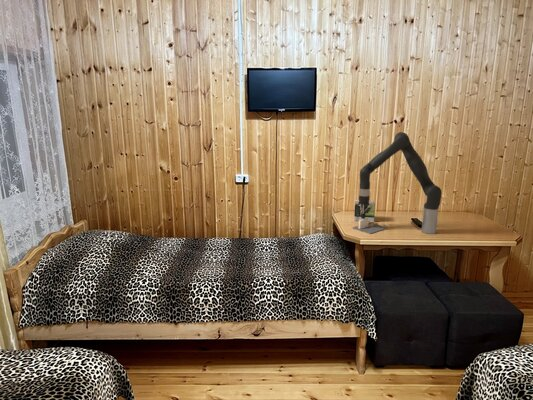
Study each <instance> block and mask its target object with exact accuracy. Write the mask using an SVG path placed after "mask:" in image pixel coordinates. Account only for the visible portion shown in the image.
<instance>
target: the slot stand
mask: <svg viewBox="0 0 533 400" xmlns="http://www.w3.org/2000/svg"><path fill="white" fill-rule="evenodd" d="M368 225H370V226H371V227H372V226H376V225H379V222H375V220H374V221H370V222H368Z"/></svg>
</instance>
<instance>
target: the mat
mask: <svg viewBox="0 0 533 400" xmlns="http://www.w3.org/2000/svg"><path fill="white" fill-rule="evenodd" d="M352 229H354V230H357V231H360V232H363V233H366V234H369V235H372V234H375V233H378V232H382V231H384V230H388V229H389V227H387V226H384V225H380V224H378V225H376V226H372V227H371V226H370V225H368V227H365V228H361V229H359V228H358V225H356V226H353V227H352Z"/></svg>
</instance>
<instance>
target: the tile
mask: <svg viewBox="0 0 533 400" xmlns="http://www.w3.org/2000/svg"><path fill="white" fill-rule="evenodd" d="M368 220H369V219H368V218H364V219H361V220H358V221H357V222H358V223H357V226H358V228H359V229H361V228H365V227H368Z"/></svg>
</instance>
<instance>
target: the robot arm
mask: <svg viewBox="0 0 533 400" xmlns="http://www.w3.org/2000/svg"><path fill="white" fill-rule="evenodd" d="M399 151H401V152H402V154H403V156H404V159H405V161H406V163H407V165H408V167H409V169H410V170H411V172H412V174H413V175H414V176H415V178H416V179H417V181H418V182H419V184H420V186H421V189H422V192H423V193H424V195H425V196H426V202H425V203H424V204H423V213H422V221H421V222H422V223H421V232H422V233H424V234H429V235H432V234H433V235H434V234H436V233H437V227H438V217H439V216H438V215H439V209H440V208H439V207H440V205H441V200H442V194H443V193H442V192H443V191H442V189H441V188H440V186H438V185H436V184H435V183H434V182H433V181H432V179H431V177H430V175H429V172H428V169H427V166H426V164H425V162H424V160H423V159H422V158H421V156H420V154H419V153H418V152H417V150H415V148H414V147H413V145H412V143H411V140H410V137H409V135H408V134H407V133H405V132H402V131H401V132H398V133H397V132H396V134H395V136H394V139H393V142H392V143H391V144H390V145H389V146H388V147H386V148H385V149H383V150H382V151H380V152H379V153H377V154H376V155H375V156H374V157H373V158H372V159H371V160H370V161H369V162H367V163H366V164H365V165H363V166H362V168H361V169H360V170H359V191H358V200H359V203H358V204H356V207H357V209H358V211H359V212H361V218H363V219H364V218H365V214H366V213H368V212H369V211H370V210H371V208H372V207H370V206H369V200H370V199H371V198H370V197H371V181H370V177H371V174H372V173H374V171H375V170H377V169H378V168H379V167H381V166H382V165H383V164H384V163H386V162H387V160H389V159H390V158H391V157H392V156H394V155H395V154H397V153H398V152H399ZM367 207H368V208H367Z"/></svg>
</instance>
